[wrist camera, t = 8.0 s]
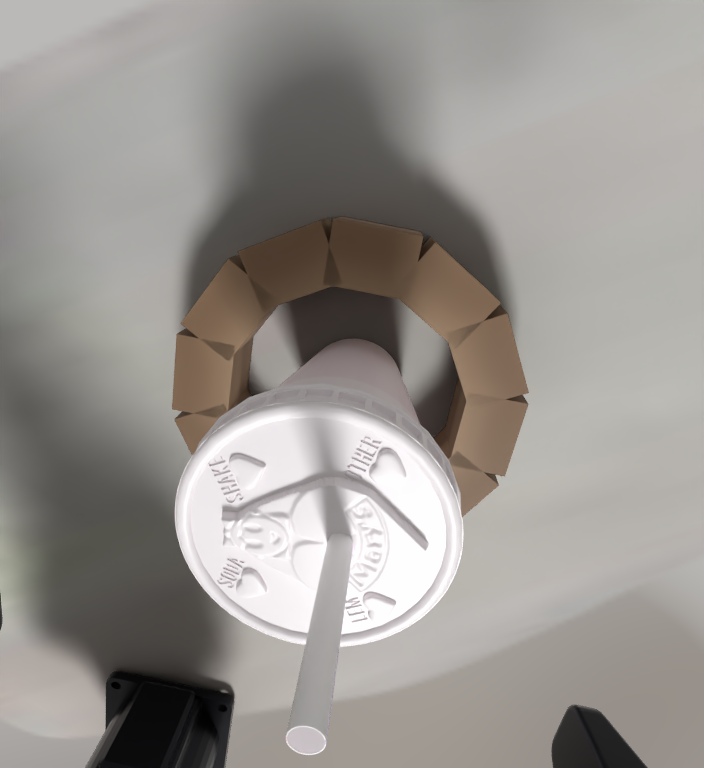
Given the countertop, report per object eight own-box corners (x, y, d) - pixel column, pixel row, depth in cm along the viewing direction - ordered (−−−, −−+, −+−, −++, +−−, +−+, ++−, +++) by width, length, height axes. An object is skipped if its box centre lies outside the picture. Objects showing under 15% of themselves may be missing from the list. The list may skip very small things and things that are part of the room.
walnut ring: (463, 539, 22) (471, 579, 20) (189, 483, 22) (165, 516, 20) (550, 256, 18) (573, 265, 16) (213, 191, 18) (185, 190, 16)
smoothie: (429, 463, 21) (476, 907, 8) (274, 451, 21) (73, 853, 8) (444, 307, 19) (544, 562, 6) (271, 298, 19) (-7, 515, 6)
